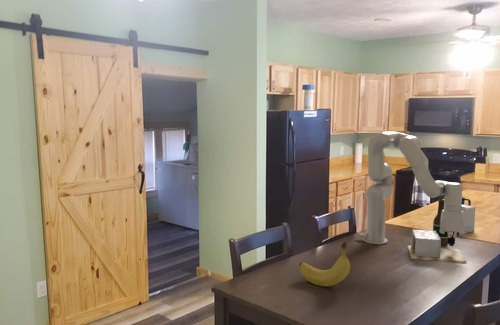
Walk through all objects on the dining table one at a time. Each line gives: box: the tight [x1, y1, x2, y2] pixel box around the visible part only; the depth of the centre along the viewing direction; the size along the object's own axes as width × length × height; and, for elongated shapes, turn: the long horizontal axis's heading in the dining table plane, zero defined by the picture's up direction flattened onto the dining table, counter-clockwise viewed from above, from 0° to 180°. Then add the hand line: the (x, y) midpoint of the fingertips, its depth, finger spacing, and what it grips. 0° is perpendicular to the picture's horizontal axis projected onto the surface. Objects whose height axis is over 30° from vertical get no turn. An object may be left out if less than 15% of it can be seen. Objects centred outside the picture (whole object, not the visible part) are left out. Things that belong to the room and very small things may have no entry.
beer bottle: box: [432, 199, 449, 247], centre depth 220 cm, size 8×8×24 cm
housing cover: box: [411, 229, 442, 258], centre depth 205 cm, size 11×16×9 cm
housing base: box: [407, 245, 467, 264], centre depth 204 cm, size 24×18×2 cm
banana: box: [298, 241, 351, 287], centre depth 167 cm, size 23×6×20 cm, turn 50°
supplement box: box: [462, 204, 476, 234], centre depth 246 cm, size 9×9×15 cm
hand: (451, 245), depth 202 cm, fingers closed
